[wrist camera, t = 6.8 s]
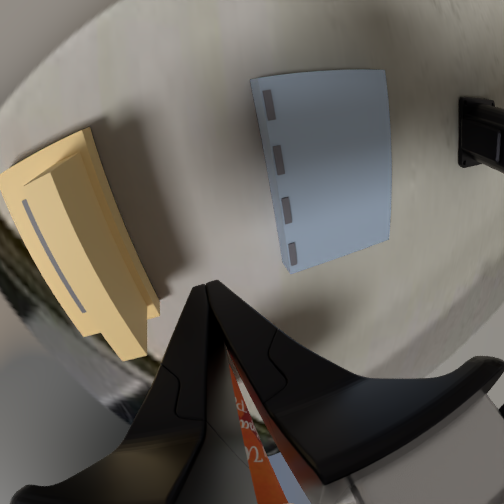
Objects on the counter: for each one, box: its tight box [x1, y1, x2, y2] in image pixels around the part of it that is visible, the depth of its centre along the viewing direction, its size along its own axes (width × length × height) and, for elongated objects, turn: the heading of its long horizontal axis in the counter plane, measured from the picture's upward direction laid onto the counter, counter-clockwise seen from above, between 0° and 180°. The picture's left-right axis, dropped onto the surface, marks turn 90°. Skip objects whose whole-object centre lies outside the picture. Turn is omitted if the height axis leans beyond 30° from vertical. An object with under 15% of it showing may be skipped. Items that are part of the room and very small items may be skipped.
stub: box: [0, 127, 160, 361], centre depth 13 cm, size 6×12×6 cm, turn 11°
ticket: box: [250, 69, 392, 274], centre depth 17 cm, size 8×12×2 cm, turn 11°
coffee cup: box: [229, 365, 294, 504], centre depth 18 cm, size 8×8×15 cm
